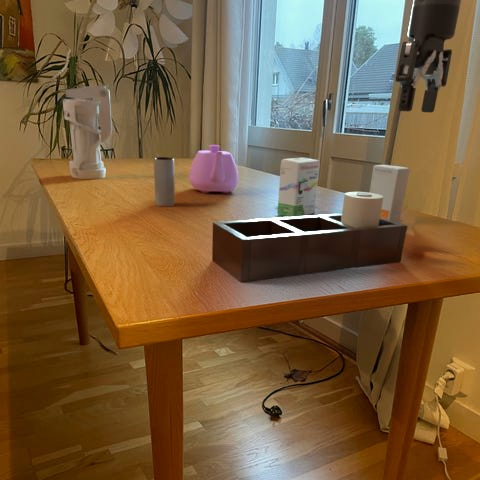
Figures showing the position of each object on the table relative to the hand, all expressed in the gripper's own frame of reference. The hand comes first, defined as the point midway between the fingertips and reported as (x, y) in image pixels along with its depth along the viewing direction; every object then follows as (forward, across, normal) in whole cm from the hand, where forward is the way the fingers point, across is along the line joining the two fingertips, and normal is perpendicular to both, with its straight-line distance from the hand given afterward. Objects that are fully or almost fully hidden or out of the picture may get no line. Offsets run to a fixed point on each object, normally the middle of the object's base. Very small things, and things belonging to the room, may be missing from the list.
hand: (416, 111), depth 86 cm
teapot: (+23, 0, +54) cm, 59 cm away
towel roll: (+22, -21, -4) cm, 31 cm away
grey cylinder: (+23, -22, +47) cm, 57 cm away
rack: (+22, -29, -1) cm, 37 cm away
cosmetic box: (+22, +3, +5) cm, 23 cm away
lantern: (+23, -16, +92) cm, 97 cm away
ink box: (+22, -3, +23) cm, 32 cm away
